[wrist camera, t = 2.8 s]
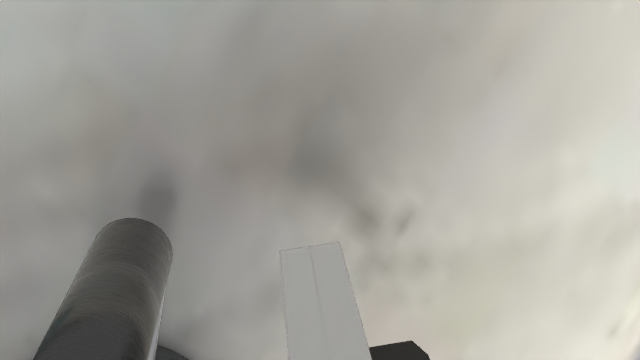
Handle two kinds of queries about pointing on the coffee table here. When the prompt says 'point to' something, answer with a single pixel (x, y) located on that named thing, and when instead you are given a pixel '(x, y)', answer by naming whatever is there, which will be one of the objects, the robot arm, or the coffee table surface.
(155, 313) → the crank
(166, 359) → the crank base
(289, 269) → the robot arm
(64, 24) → the coffee table surface
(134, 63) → the coffee table surface
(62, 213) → the coffee table surface
